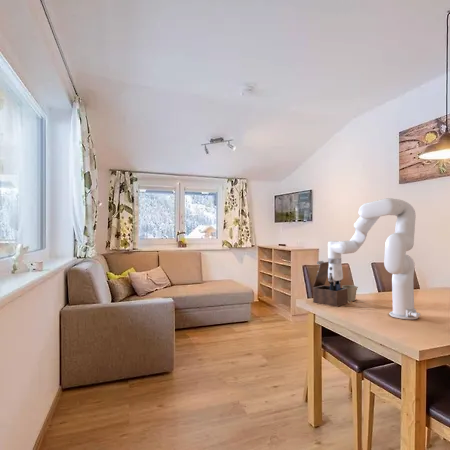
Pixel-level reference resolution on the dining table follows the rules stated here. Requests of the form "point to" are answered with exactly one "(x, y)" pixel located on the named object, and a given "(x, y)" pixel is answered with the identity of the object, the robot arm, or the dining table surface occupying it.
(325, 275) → the lid
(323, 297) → the chest
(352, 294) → the flower pot
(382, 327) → the dining table surface
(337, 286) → the block
